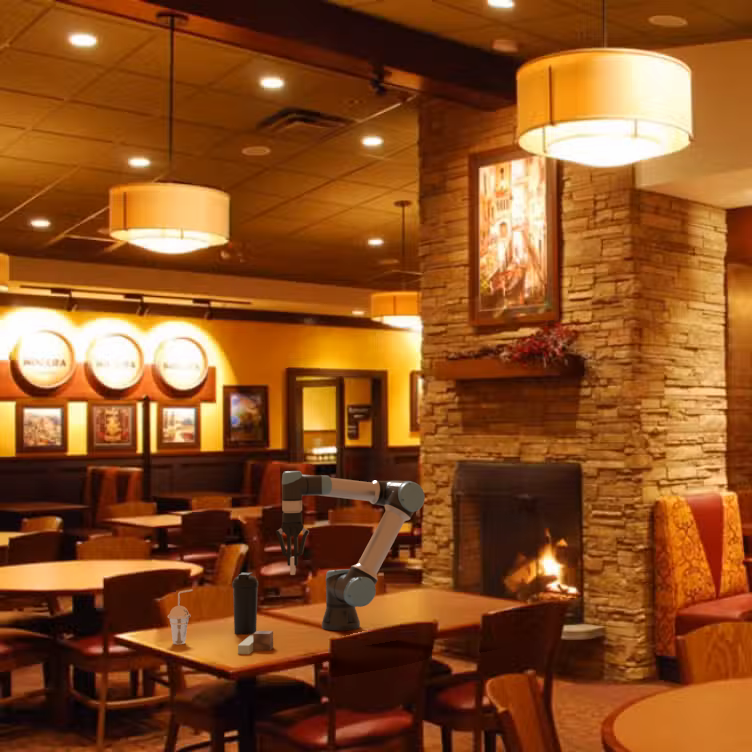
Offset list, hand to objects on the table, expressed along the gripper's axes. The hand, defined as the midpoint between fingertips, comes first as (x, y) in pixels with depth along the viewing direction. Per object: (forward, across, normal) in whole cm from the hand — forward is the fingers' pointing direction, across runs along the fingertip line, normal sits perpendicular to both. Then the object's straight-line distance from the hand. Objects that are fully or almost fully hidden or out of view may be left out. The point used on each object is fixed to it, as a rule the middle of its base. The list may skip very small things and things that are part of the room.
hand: (292, 574), depth 424 cm
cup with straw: (+24, +41, +12) cm, 49 cm away
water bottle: (+24, +21, -12) cm, 34 cm away
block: (+24, +8, +20) cm, 32 cm away
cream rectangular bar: (+24, +13, +20) cm, 34 cm away
